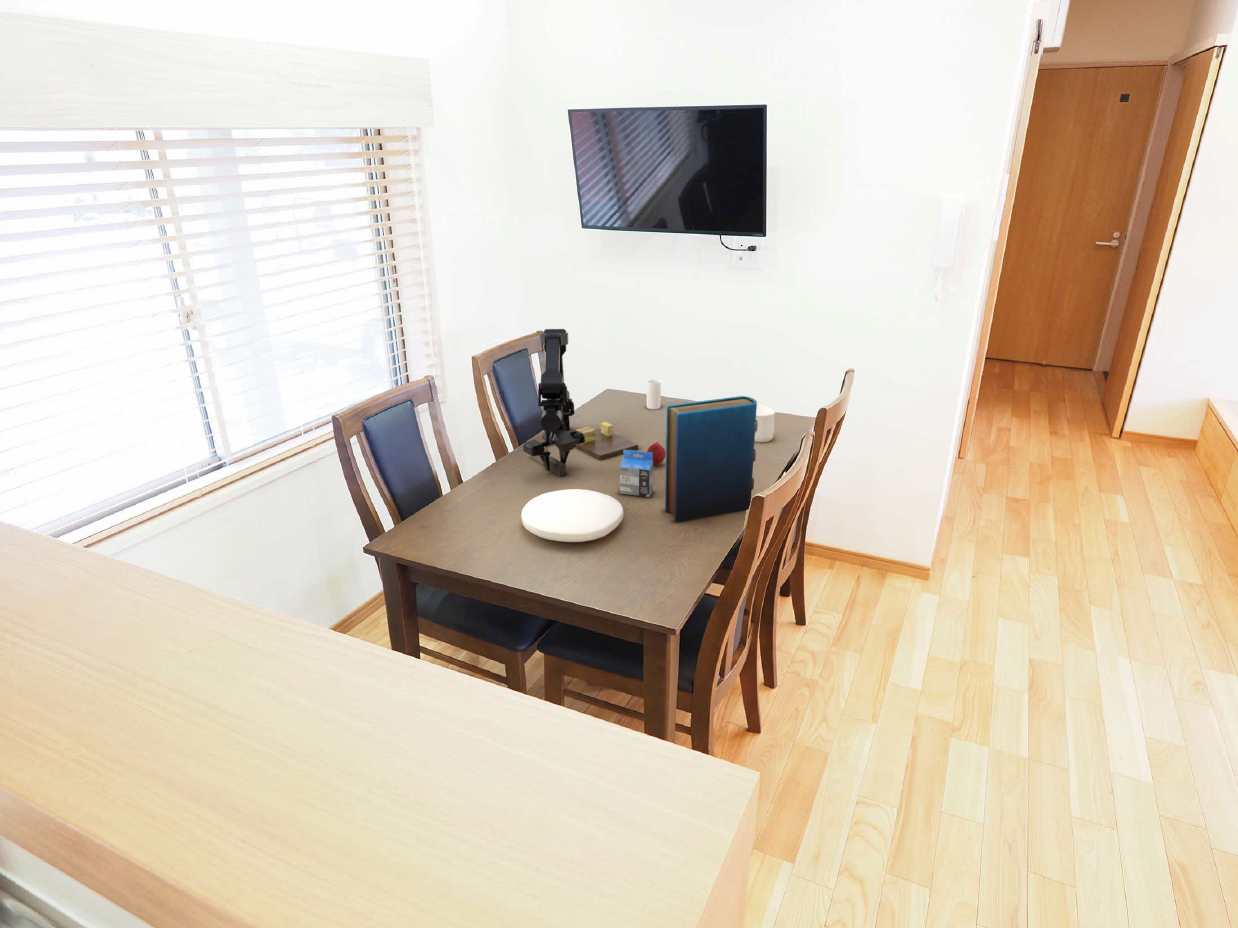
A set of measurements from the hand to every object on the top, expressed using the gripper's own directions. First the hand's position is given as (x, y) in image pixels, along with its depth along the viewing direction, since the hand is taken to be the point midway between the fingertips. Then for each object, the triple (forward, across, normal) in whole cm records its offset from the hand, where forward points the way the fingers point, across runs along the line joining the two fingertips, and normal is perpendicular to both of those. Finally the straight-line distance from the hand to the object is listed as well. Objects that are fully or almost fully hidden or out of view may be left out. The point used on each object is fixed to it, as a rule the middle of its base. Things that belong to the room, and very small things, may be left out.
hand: (555, 468), depth 238 cm
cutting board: (+1, +24, +9) cm, 25 cm away
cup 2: (+1, +69, -18) cm, 71 cm away
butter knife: (+1, 0, +4) cm, 4 cm away
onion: (+1, +27, -15) cm, 31 cm away
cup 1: (+1, +61, +28) cm, 67 cm away
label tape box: (+1, +10, -27) cm, 29 cm away
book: (+1, +20, -47) cm, 51 cm away
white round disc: (+1, -15, -32) cm, 35 cm away
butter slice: (0, +29, +13) cm, 32 cm away
